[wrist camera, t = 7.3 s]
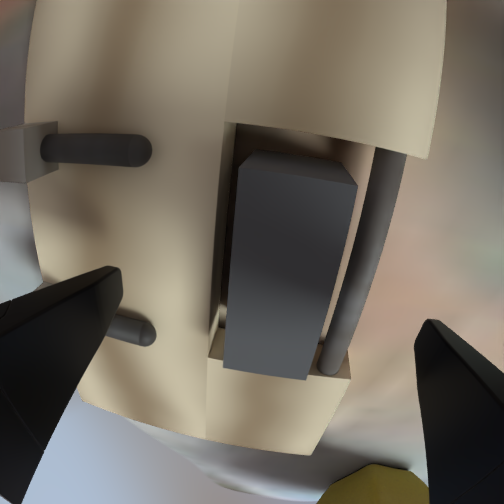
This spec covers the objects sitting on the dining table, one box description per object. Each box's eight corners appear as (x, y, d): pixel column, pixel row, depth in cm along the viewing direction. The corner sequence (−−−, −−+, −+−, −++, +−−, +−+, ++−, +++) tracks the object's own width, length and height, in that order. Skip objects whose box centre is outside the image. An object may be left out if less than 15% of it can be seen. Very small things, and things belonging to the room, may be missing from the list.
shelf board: (425, -22, 7) (469, -59, 3) (311, 428, 17) (309, 481, 14) (74, -30, 8) (17, -49, 4) (95, 379, 18) (69, 421, 15)
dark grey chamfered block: (340, 161, 11) (358, 186, 8) (306, 321, 14) (305, 380, 11) (256, 148, 11) (238, 167, 8) (238, 311, 14) (222, 367, 11)
